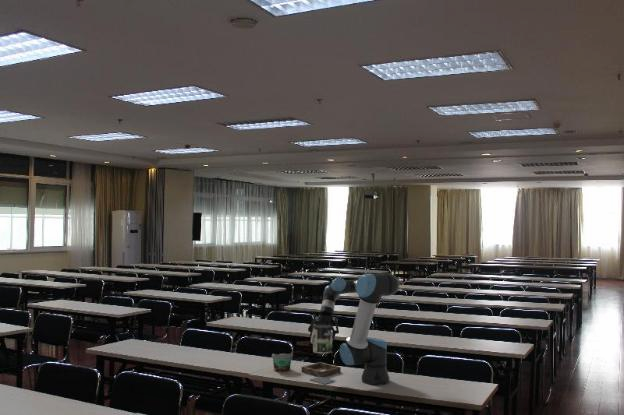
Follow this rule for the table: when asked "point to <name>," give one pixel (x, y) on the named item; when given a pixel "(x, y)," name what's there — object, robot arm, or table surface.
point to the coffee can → (321, 339)
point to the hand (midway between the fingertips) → (321, 342)
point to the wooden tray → (329, 371)
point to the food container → (282, 362)
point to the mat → (322, 380)
